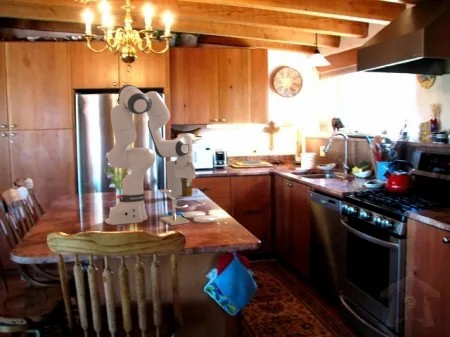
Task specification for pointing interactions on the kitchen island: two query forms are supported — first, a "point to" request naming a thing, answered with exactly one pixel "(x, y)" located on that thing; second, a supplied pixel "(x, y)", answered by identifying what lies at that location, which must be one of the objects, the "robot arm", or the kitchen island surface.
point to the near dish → (205, 219)
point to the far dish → (193, 214)
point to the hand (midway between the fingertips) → (185, 185)
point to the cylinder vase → (173, 181)
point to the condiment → (186, 189)
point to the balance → (174, 219)
